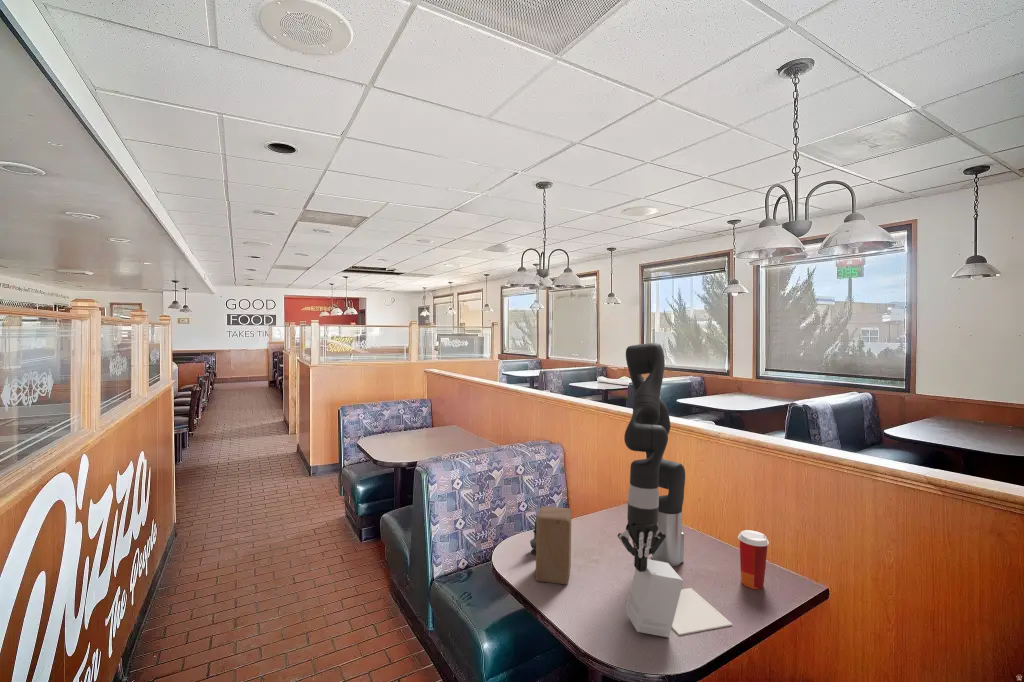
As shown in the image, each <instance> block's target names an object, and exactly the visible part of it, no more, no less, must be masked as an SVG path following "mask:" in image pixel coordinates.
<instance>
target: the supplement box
mask: <svg viewBox="0 0 1024 682" xmlns="http://www.w3.org/2000/svg"><path fill="white" fill-rule="evenodd" d="M683 584H684V580H683V578H682V577H681V576H680V575H679V574H678V573H677V572H676V570H675V569H674V568H673V566H670V565H669V563H666V562H661V561H655V560H653V559H650V558H647V568H646V569H645V571H644V572H639V571H638V570H637V569H636V568H635V571H634V574H633V578H632V582H631V587H630V590H629V595H628V599H627V602H626V607H625V613H626V614H627V616H628V619H629V620H630V622H631V623H632V625H633V628H635V631H636V632H637V633H643V634H649V635H654V636H659V637H664V638H670V636H671V633H672V624H673V620H674V616H675V612H676V608H677V604H678V600H679V596H680V592H681V589H683V588H682V587H683Z"/></svg>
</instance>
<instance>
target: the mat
mask: <svg viewBox="0 0 1024 682" xmlns="http://www.w3.org/2000/svg"><path fill="white" fill-rule="evenodd" d="M731 626H733V623H732V622H731V621H730V620H728V619H727V618H726V617H725V616H724V615H722V614H721V613H720V612H719V611H718V610H717V609H716V608H715V607H714V606H712V605H711V604H710V603H709V602H708V601H707V600H705V598H704V597H702V596H701V595H700V594H698V593H697V592H696V591H695V590H694V589H693V588H692V587H688V588H681V592H680V596H679V600H678V604H677V608H676V612H675V616H674V620H673V624H672V628H671V630H673V631H674V632H675V633H676V634H677V635H678V636H684V635H691V634H695V633H699V632H704V631H705V632H706V631H711V630H715V629H721V628H726V627H731Z"/></svg>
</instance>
